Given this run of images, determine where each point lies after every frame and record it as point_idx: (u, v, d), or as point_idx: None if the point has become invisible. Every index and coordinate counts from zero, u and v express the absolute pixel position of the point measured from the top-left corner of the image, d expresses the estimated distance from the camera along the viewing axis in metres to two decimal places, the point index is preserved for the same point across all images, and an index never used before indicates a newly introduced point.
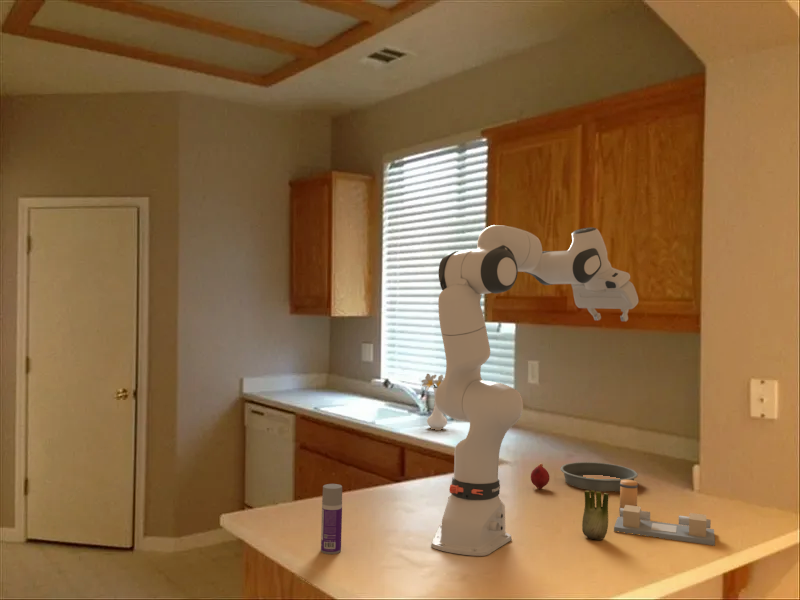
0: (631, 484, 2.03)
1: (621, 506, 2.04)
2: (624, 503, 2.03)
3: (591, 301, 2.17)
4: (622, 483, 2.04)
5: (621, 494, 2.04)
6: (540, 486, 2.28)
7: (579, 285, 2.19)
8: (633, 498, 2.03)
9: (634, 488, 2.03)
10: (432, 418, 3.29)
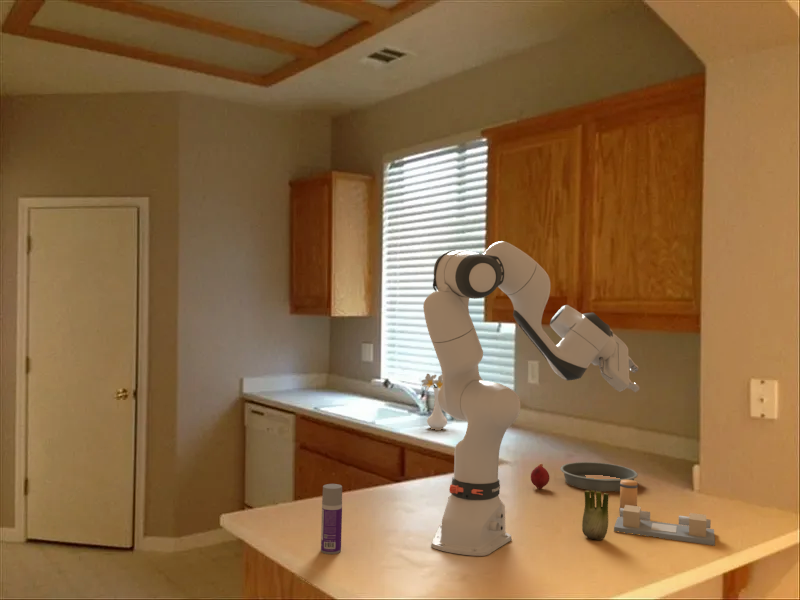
0: (631, 484, 2.03)
1: (621, 506, 2.04)
2: (624, 503, 2.03)
3: (622, 367, 1.97)
4: (622, 483, 2.04)
5: (621, 494, 2.04)
6: (540, 486, 2.28)
7: (606, 364, 1.94)
8: (633, 498, 2.03)
9: (634, 488, 2.03)
10: (432, 418, 3.29)
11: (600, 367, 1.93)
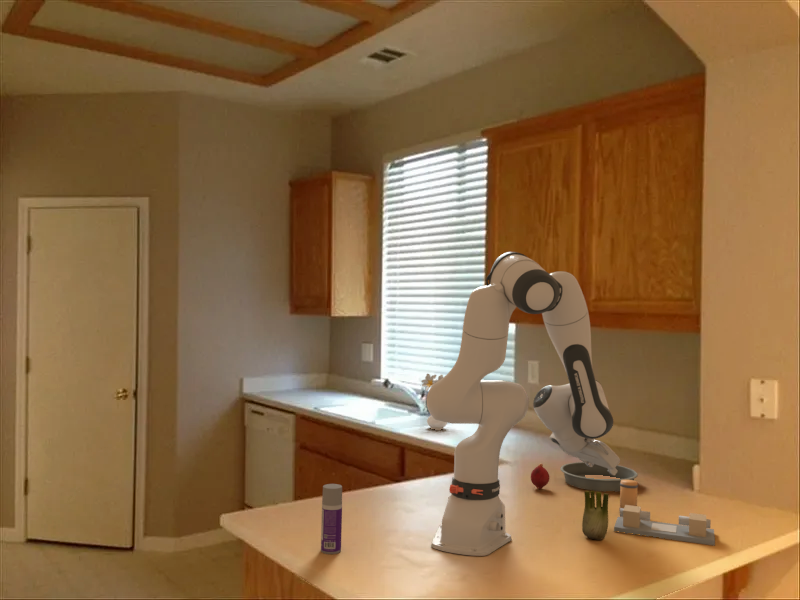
0: (631, 484, 2.03)
1: (621, 506, 2.04)
2: (624, 503, 2.03)
3: None
4: (622, 483, 2.04)
5: (621, 494, 2.04)
6: (540, 486, 2.28)
7: None
8: (633, 498, 2.03)
9: (634, 488, 2.03)
10: (432, 418, 3.29)
11: (597, 442, 1.87)
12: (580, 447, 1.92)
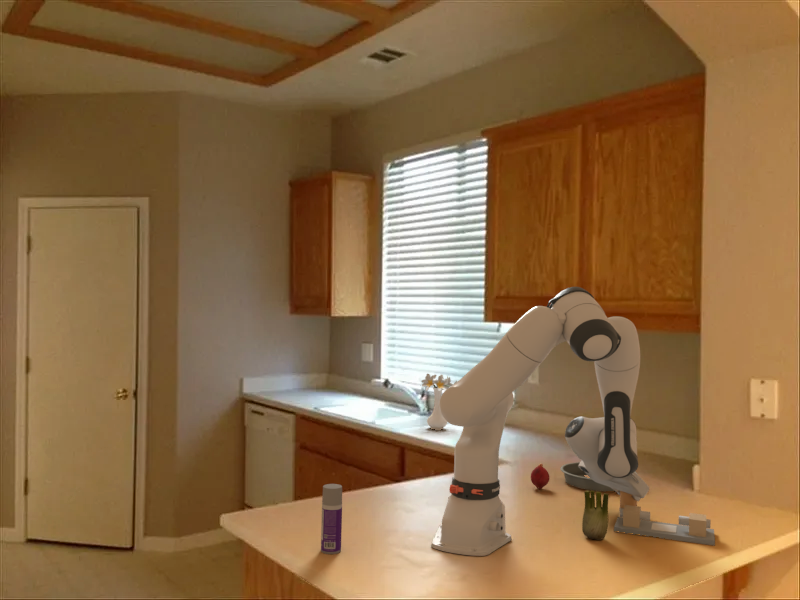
0: None
1: (621, 506, 2.04)
2: (624, 502, 2.03)
3: None
4: None
5: (621, 494, 2.05)
6: (540, 486, 2.28)
7: None
8: None
9: None
10: (432, 418, 3.29)
11: None
12: (610, 476, 1.97)
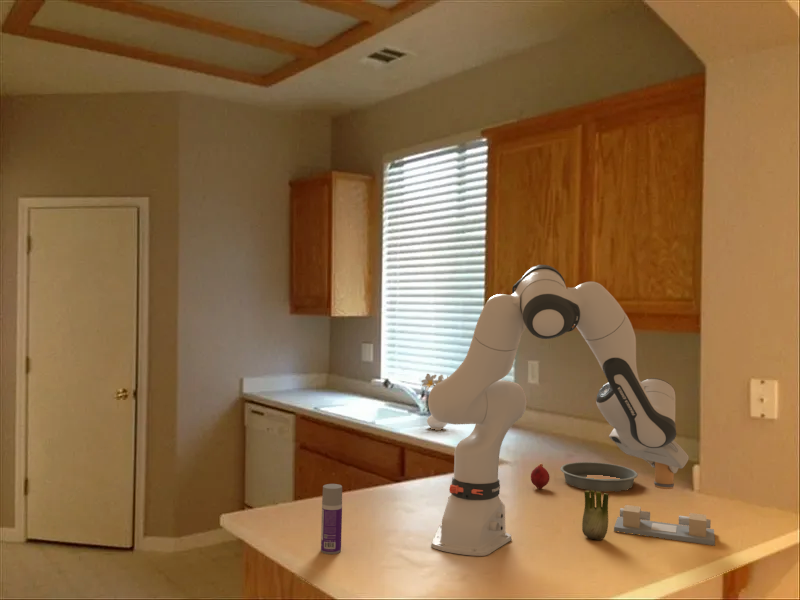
0: None
1: (656, 479, 1.88)
2: (659, 475, 1.88)
3: None
4: None
5: (656, 466, 1.89)
6: (540, 486, 2.28)
7: None
8: None
9: None
10: (432, 418, 3.29)
11: None
12: None
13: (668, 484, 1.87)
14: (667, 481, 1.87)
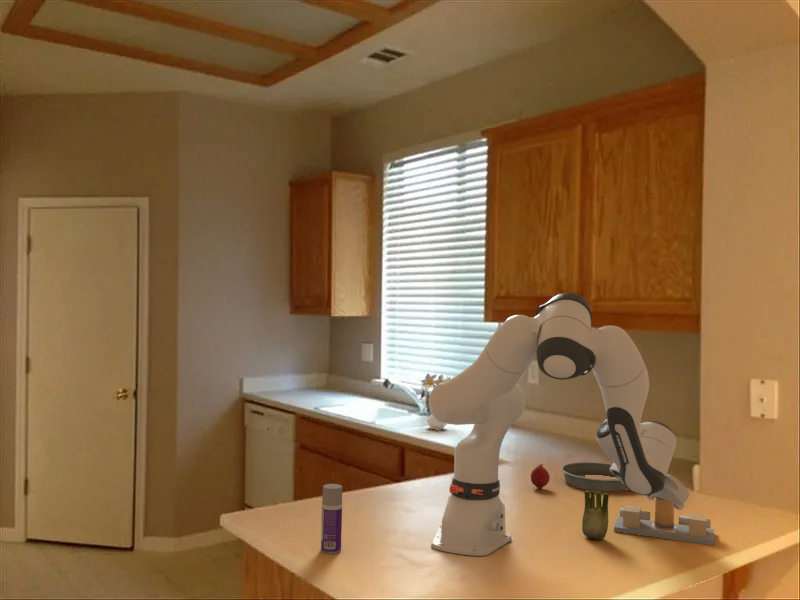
0: None
1: (656, 519, 1.88)
2: (659, 516, 1.87)
3: None
4: None
5: (656, 506, 1.88)
6: (540, 486, 2.28)
7: None
8: (670, 511, 1.86)
9: None
10: (432, 418, 3.29)
11: (666, 476, 1.76)
12: None
13: (668, 525, 1.86)
14: (667, 522, 1.86)
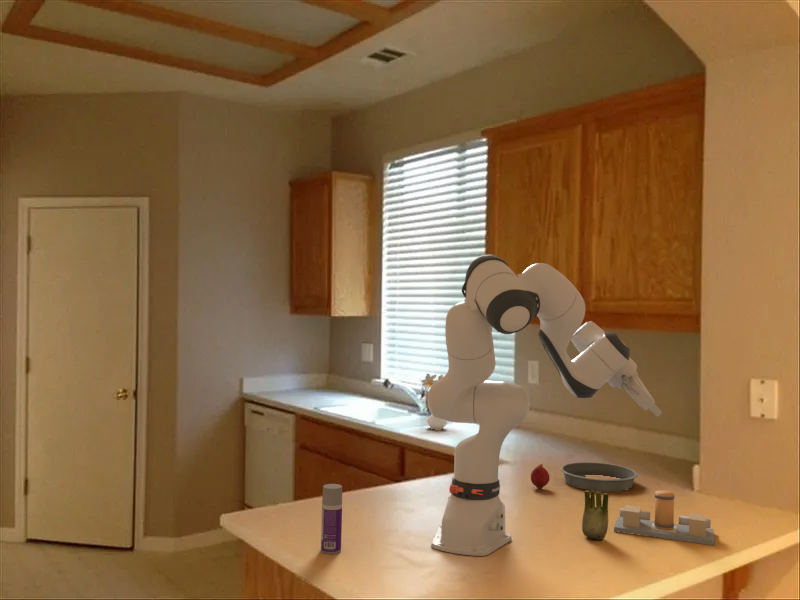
0: (667, 495, 1.86)
1: (656, 519, 1.88)
2: (659, 516, 1.87)
3: (645, 388, 1.90)
4: (657, 494, 1.88)
5: (656, 506, 1.88)
6: (540, 486, 2.28)
7: (631, 381, 1.87)
8: (670, 511, 1.86)
9: (671, 500, 1.86)
10: (432, 418, 3.29)
11: (626, 381, 1.85)
12: (618, 383, 1.90)
13: (668, 525, 1.86)
14: (667, 521, 1.86)
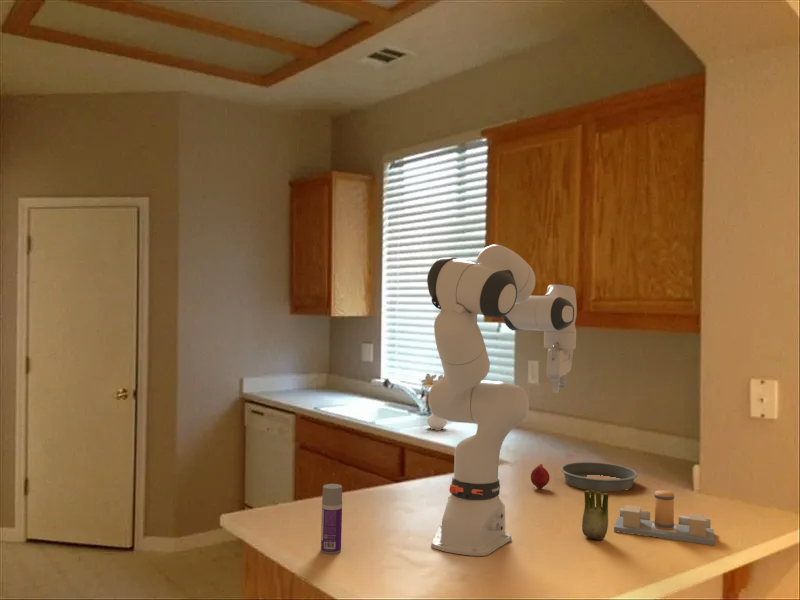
0: (667, 495, 1.86)
1: (656, 519, 1.88)
2: (659, 516, 1.87)
3: (563, 366, 2.01)
4: (657, 494, 1.87)
5: (656, 506, 1.88)
6: (540, 486, 2.28)
7: (558, 349, 1.98)
8: (670, 511, 1.86)
9: (671, 500, 1.86)
10: (432, 418, 3.29)
11: (554, 344, 1.96)
12: (548, 345, 2.02)
13: (668, 525, 1.86)
14: (667, 521, 1.86)
